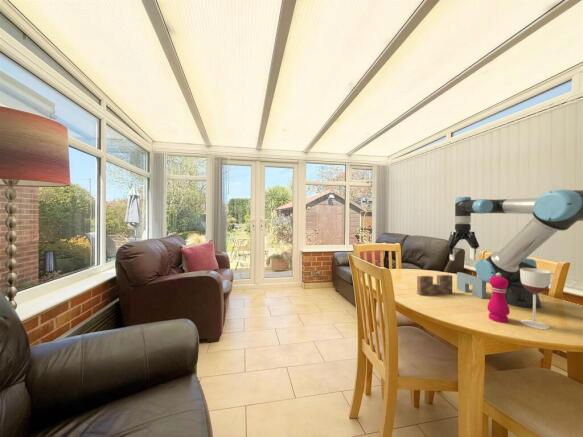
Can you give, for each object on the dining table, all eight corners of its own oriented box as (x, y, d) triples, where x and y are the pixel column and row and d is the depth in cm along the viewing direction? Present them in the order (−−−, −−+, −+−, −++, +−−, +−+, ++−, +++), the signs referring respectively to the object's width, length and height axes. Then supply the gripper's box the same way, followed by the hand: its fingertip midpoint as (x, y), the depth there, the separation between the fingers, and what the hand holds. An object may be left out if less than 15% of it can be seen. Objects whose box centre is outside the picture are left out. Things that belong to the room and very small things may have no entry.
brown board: (448, 291, 138) (448, 274, 138) (452, 293, 135) (452, 275, 135) (417, 293, 135) (417, 276, 135) (420, 295, 132) (420, 277, 132)
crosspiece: (486, 298, 127) (486, 279, 127) (481, 298, 127) (482, 279, 127) (460, 288, 143) (460, 272, 143) (456, 289, 143) (456, 272, 143)
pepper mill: (500, 316, 105) (501, 270, 105) (514, 323, 98) (515, 275, 98) (483, 315, 106) (483, 270, 105) (495, 323, 99) (495, 274, 98)
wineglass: (522, 326, 96) (523, 271, 95) (516, 317, 104) (517, 266, 103) (553, 331, 91) (554, 274, 91) (545, 322, 99) (546, 269, 99)
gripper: (475, 223, 146) (475, 257, 146) (438, 223, 142) (438, 259, 142) (487, 223, 138) (486, 260, 139) (448, 224, 134) (448, 261, 135)
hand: (462, 259), depth 140 cm, fingers open, 13 cm apart
